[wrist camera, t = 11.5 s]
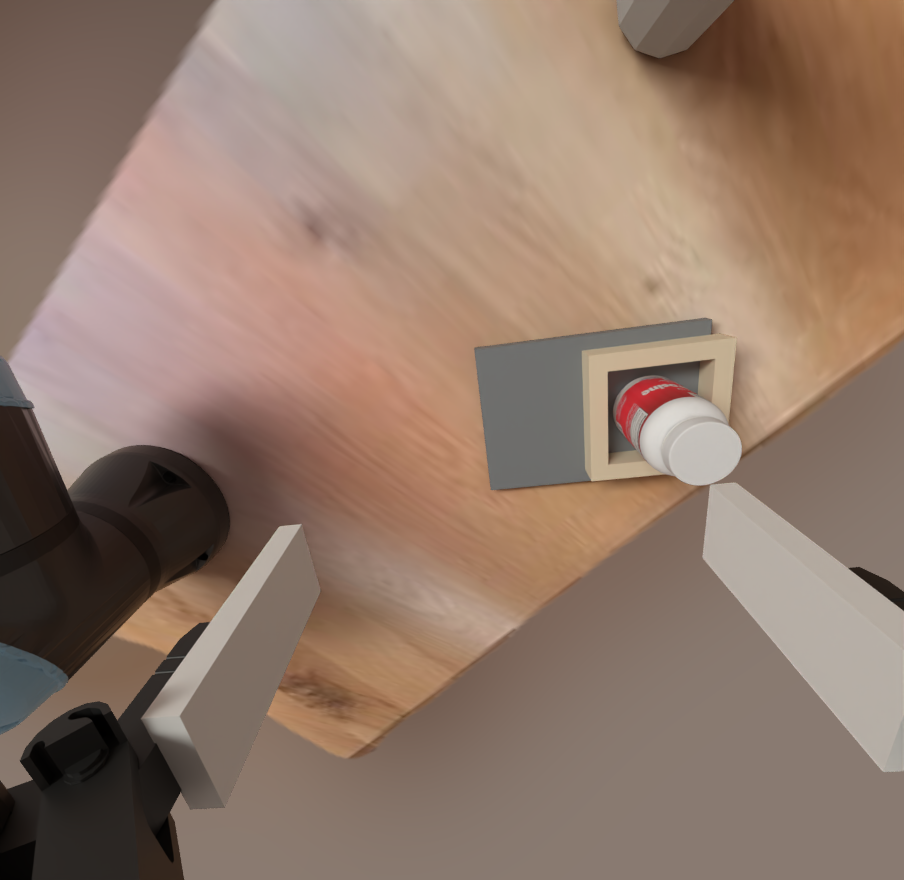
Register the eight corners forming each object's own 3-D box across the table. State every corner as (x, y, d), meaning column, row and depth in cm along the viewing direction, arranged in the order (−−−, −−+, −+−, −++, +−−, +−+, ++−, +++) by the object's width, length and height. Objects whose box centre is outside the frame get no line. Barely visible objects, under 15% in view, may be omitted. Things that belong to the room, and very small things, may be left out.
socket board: (490, 484, 44) (491, 502, 41) (474, 347, 39) (474, 355, 36) (702, 464, 42) (722, 481, 39) (714, 316, 37) (738, 321, 34)
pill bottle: (691, 379, 38) (770, 419, 28) (668, 443, 40) (733, 502, 30) (621, 368, 38) (675, 404, 28) (602, 432, 40) (645, 488, 30)
